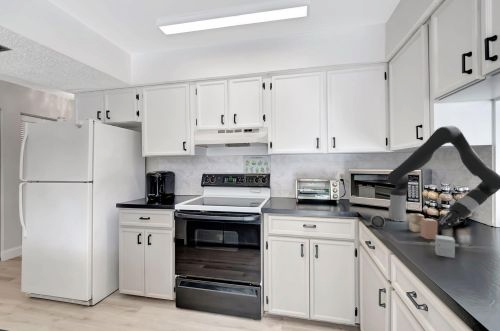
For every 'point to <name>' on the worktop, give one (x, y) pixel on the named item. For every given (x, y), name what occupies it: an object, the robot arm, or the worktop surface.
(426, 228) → the key two
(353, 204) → the worktop surface
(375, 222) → the ceramic mug
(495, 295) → the worktop surface
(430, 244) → the keypad board
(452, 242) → the product box
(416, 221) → the key one
